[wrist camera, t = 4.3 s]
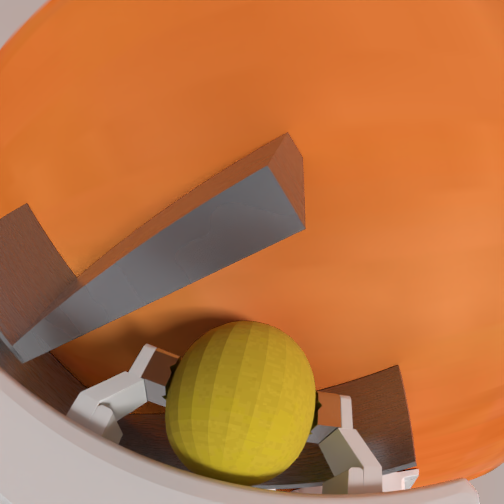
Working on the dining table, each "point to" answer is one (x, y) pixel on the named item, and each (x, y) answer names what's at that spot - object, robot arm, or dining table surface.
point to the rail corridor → (165, 282)
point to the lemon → (241, 403)
